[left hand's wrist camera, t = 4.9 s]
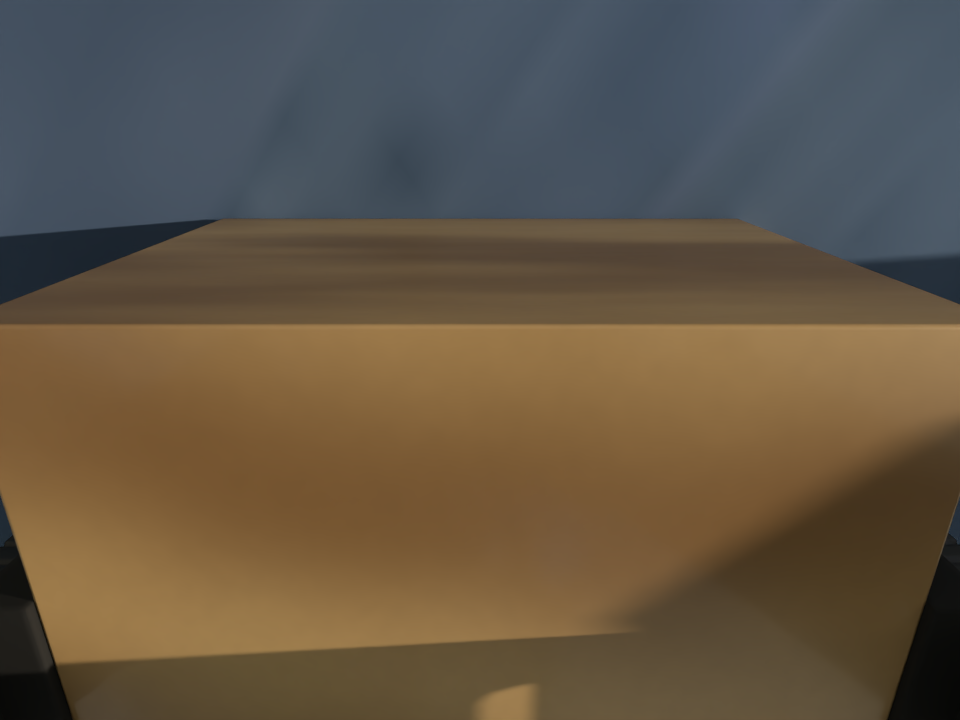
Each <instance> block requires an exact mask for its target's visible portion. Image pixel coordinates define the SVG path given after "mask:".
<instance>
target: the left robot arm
mask: <svg viewBox="0 0 960 720" xmlns="http://www.w3.org/2000/svg"><path fill="white" fill-rule="evenodd" d="M956 541H957V540H956V539H954V538H953V537H952V536H951V535H950V534H949V533H948V535H947V538H946V541H945V544H944V547H943V550H942V553H941V556H940V559H939V562H938V566H937V569H936V572H935V575H934V578H933V581H932V584H931V587H930V590H929V593H928V596H927V599H926V603H925V606H924V609H923V612H922V615H921V618H920V621H919V624H918V627H917V630H916V633H915V636H914V640H913V643H912V646H911V649H910V652H909V655H908V658H907V661H906V664H905V667H904V670H903V674H902V677H901V680H900V683H899V686H898V689H897V692H896V695H895V698H894V701H893V704H892V707H891V711H890V714H889V717H888V720H960V545H957V542H956ZM0 720H73V719H72V716H71V713H70V709H69V706H68V703H67V700H66V697H65V694H64V691H63V688H62V685H61V682H60V678H59V675H58V672H57V669H56V666H55V663H54V660H53V657H52V654H51V651H50V648H49V644H48V641H47V638H46V635H45V632H44V629H43V626H42V623H41V620H40V617H39V613H38V610H37V607H36V604H35V601H34V598H33V595H32V592H31V589H30V586H29V583H28V579H27V576H26V573H25V570H24V567H23V564H22V561H21V558H20V555H19V552H18V548H17V545H16V542H15V539H14V536H13V535H12V536H11V537H10V538H9V539H8V540H7V541H6V542H5V545H4V547H0Z"/></svg>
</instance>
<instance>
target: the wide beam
mask: <svg viewBox="0 0 960 720" xmlns="http://www.w3.org/2000/svg"><path fill="white" fill-rule="evenodd" d="M0 496H1V499H2V502H3V505H4V508H5V511H6V514H7V517H8V521H9V524H10V527H11V530H12V533H13V536H14V539H15V542H16V545H17V548H18V552H19V555H20V558H21V561H22V564H23V567H24V570H25V573H26V576H27V579H28V583H29V586H30V589H31V592H32V595H33V598H34V601H35V604H36V607H37V610H38V613H39V617H40V620H41V623H42V626H43V629H44V632H45V635H46V638H47V641H48V644H49V648H50V651H51V654H52V657H53V660H54V663H55V666H56V669H57V672H58V675H59V678H60V682H61V685H62V688H63V691H64V694H65V697H66V700H67V703H68V706H69V709H70V713H71V716H72V719H73V720H888V717H889V714H890V711H891V707H892V704H893V701H894V698H895V695H896V692H897V689H898V686H899V683H900V680H901V677H902V674H903V670H904V667H905V664H906V661H907V658H908V655H909V652H910V649H911V646H912V643H913V640H914V636H915V633H916V630H917V627H918V624H919V621H920V618H921V615H922V612H923V609H924V606H925V603H926V599H927V596H928V593H929V590H930V587H931V584H932V581H933V578H934V575H935V572H936V569H937V566H938V562H939V559H940V556H941V553H942V550H943V547H944V544H945V541H946V538H947V535H948V532H949V528H950V525H951V522H952V519H953V516H954V513H955V510H956V507H957V504H958V501H959V498H960V304H957V303H955V302H952V301H949V300H947V299H944V298H942V297H939V296H936V295H934V294H931V293H929V292H926V291H923V290H921V289H918V288H916V287H913V286H910V285H908V284H905V283H903V282H900V281H897V280H895V279H892V278H890V277H887V276H884V275H882V274H879V273H877V272H874V271H871V270H869V269H866V268H864V267H861V266H858V265H856V264H853V263H851V262H848V261H845V260H843V259H840V258H838V257H835V256H832V255H830V254H827V253H825V252H822V251H819V250H817V249H814V248H812V247H809V246H806V245H804V244H801V243H799V242H796V241H793V240H791V239H788V238H786V237H783V236H780V235H778V234H775V233H773V232H770V231H767V230H765V229H762V228H760V227H757V226H754V225H752V224H749V223H747V222H744V221H741V220H739V219H221V220H218V221H216V222H213V223H210V224H208V225H205V226H203V227H200V228H198V229H195V230H192V231H190V232H187V233H185V234H182V235H179V236H177V237H174V238H172V239H169V240H166V241H164V242H161V243H159V244H156V245H154V246H151V247H148V248H146V249H143V250H141V251H138V252H135V253H133V254H130V255H128V256H125V257H122V258H120V259H117V260H115V261H112V262H110V263H107V264H104V265H102V266H99V267H97V268H94V269H91V270H89V271H86V272H84V273H81V274H78V275H76V276H73V277H71V278H68V279H65V280H63V281H60V282H58V283H55V284H53V285H50V286H47V287H45V288H42V289H40V290H37V291H34V292H32V293H29V294H27V295H24V296H21V297H19V298H16V299H14V300H11V301H9V302H6V303H3V304H1V305H0Z"/></svg>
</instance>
